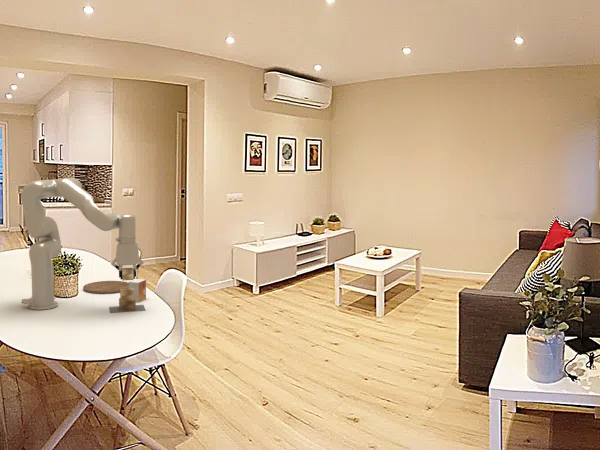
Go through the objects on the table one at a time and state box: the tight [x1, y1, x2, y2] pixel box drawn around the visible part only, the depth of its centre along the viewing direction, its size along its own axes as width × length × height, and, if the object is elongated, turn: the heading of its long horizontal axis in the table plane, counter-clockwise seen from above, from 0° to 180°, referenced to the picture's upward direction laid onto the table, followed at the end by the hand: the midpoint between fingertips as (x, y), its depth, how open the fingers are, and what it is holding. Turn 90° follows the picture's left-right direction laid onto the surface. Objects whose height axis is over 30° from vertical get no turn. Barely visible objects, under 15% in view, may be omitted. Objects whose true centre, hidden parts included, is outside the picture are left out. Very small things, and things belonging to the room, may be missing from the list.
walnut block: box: [118, 297, 137, 311], centre depth 252 cm, size 7×7×4 cm
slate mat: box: [108, 304, 146, 314], centre depth 252 cm, size 16×11×1 cm
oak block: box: [119, 289, 134, 302], centre depth 251 cm, size 6×6×4 cm
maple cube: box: [121, 267, 135, 282], centre depth 250 cm, size 5×5×5 cm
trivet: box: [82, 280, 129, 295], centre depth 291 cm, size 25×25×2 cm
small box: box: [128, 278, 147, 303], centre depth 267 cm, size 8×6×10 cm
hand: (127, 278), depth 250 cm, fingers closed on maple cube, 5 cm apart
